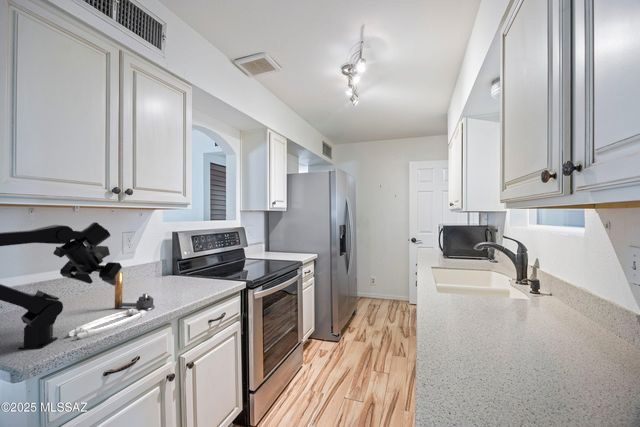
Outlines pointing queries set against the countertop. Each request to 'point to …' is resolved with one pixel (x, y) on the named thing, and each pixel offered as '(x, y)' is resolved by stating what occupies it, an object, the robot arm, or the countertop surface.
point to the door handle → (86, 332)
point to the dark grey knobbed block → (145, 308)
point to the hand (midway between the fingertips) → (103, 283)
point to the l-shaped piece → (118, 303)
